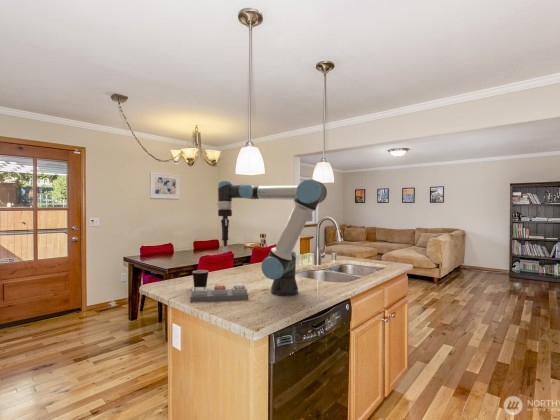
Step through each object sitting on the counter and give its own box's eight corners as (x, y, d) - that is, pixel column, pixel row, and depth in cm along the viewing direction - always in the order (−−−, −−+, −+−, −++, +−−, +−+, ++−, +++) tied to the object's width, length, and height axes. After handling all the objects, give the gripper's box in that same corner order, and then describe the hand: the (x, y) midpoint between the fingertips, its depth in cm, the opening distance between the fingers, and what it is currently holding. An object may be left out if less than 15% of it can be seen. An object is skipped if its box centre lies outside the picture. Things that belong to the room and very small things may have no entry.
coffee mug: (203, 291, 169) (204, 273, 169) (189, 290, 171) (189, 272, 171) (212, 286, 180) (213, 269, 180) (199, 285, 182) (199, 268, 182)
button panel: (245, 293, 168) (245, 284, 168) (248, 299, 156) (248, 290, 156) (191, 295, 162) (192, 286, 162) (190, 302, 150) (190, 292, 150)
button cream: (243, 287, 164) (243, 283, 164) (244, 289, 160) (244, 285, 160) (234, 287, 163) (234, 283, 163) (235, 290, 158) (235, 286, 158)
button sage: (204, 291, 160) (204, 287, 160) (204, 294, 155) (204, 290, 155) (194, 292, 159) (195, 287, 159) (194, 294, 154) (194, 290, 154)
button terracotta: (224, 288, 162) (224, 284, 162) (224, 290, 157) (224, 286, 157) (214, 288, 161) (215, 284, 161) (215, 291, 156) (215, 286, 156)
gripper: (217, 209, 176) (217, 250, 176) (219, 208, 164) (219, 253, 163) (230, 209, 178) (230, 250, 178) (233, 208, 166) (233, 253, 165)
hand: (225, 251), depth 171 cm, fingers closed
